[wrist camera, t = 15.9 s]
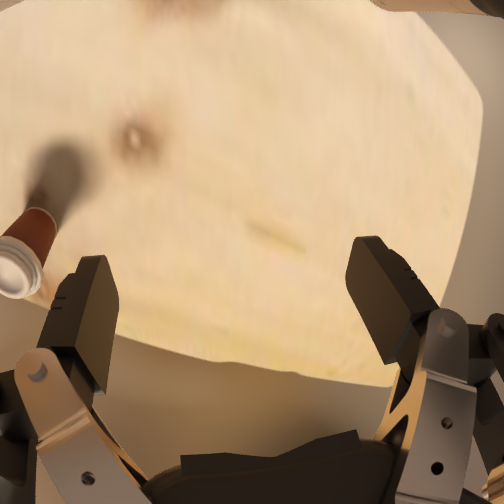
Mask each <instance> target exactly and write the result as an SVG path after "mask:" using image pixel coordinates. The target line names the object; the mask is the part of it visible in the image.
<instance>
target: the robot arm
mask: <svg viewBox="0 0 504 504" xmlns="http://www.w3.org/2000/svg"><path fill="white" fill-rule="evenodd" d="M370 1H372V2H373V3H374V4H375V5H377V6H379V7H380V8H382V9H385V10H387V11H393V12H406V11H413V12H424V11H425V12H451V13H452V12H453V13H466V14H477V15H486V16H494V17H501V18H503V19H504V0H370ZM345 280H346V287H347V290H348V292H349V294H350V296H351V298H352V300H353V302H354V304H355V306H356V308H357V310H358V311H359V313H360V315H361V317H362V319H363V321H364V323H365V325H366V327H367V329H368V331H369V334H370V336H371V338H372V340H373V342H374V344H375V346H376V348H377V350H378V352H379V354H380V356H381V358H382V360H383V363H384V365H387V364H391V363H395V362H398V364H399V366H400V368H399V369H398V371H397V373H396V377H395V381H394V384H393V388H392V392H391V395H390V398H389V402H388V405H387V409H386V412H385V415H384V418H383V420H382V422H381V424H380V426H379V428H378V430H377V431H376V433H375V435H374V437H373V440H372V439H359V436H358V433H357V431H356V429H355V430H351V431H347V432H344V433H339V434H335V435H331V436H327V437H322V438H318V439H315V440H313V441H311V442H309V443H306V444H304V445H302V446H300V447H298V448H295V449H293V450H291V451H289V452H286V453H284V454H282V455H279V456H276V457H260V456H249V455H240V454H232V453H214V454H199V455H181V456H180V457H181V465H178V466H174V467H172V468H170V469H167V470H164V471H163V472H161V473H159V474H157V475H155V476H154V477H153V478H151V479H150V480H149V479H148V478H147V477H146V476H145V475H144V473H143V472H142V471H141V470H140V469H139V468H138V467H137V465H136V464H135V463H134V462H133V461H132V460H131V459H130V458H129V456H128V455H127V454H126V453H125V451H124V450H123V449H122V447H121V446H120V445H119V443H118V442H117V441H116V440H115V438H114V437H113V435H112V434H111V432H110V431H109V429H108V428H107V427H106V425H105V424H104V422H103V421H102V419H101V418H100V416H99V415H98V413H97V412H96V410H95V409H94V407H93V406H92V403H93V396H94V395H106V388H107V380H108V373H109V365H110V359H111V352H112V346H113V339H114V334H115V328H116V322H117V317H118V312H119V296H118V292H117V288H116V285H115V282H114V279H113V276H112V273H111V269H110V266H109V263H108V260H107V258H106V256H105V255H97V256H85V257H82V258H81V260H80V262H79V264H78V267H77V269H76V272H75V273H71V274H68V275H67V277H66V278H65V279H64V280H63V281H62V282H61V283H60V285H59V287H58V289H57V292H56V294H55V297H54V298H55V299H54V300H53V302H52V304H51V307H50V308H51V310H49V312H48V315H47V318H46V321H45V324H44V326H43V330H42V332H41V335H40V338H39V341H38V344H37V348H36V349H33V350H30V351H28V352H27V353H25V354H24V355H23V356H22V357H21V358H20V359H19V361H18V362H17V365H16V367H15V369H14V370H10V371H7V372H3V373H0V504H35V487H36V484H35V483H36V462H37V452H38V454H39V456H40V459H41V461H42V463H43V465H44V466H45V468H46V470H47V472H48V474H49V476H50V478H51V479H52V481H53V483H54V485H55V486H56V488H57V490H58V492H59V493H60V495H61V497H62V498H63V500H64V501H65V503H66V504H504V406H503V403H502V401H501V399H500V397H499V395H498V393H497V391H496V389H495V387H494V385H493V383H492V381H491V379H490V377H491V376H492V375H493V374H494V373H495V371H496V370H498V372H499V374H500V376H501V378H502V380H503V382H504V315H503V314H499V313H495V314H492V315H490V317H489V318H488V319H487V321H486V323H485V324H484V325H473V324H467V323H466V322H465V320H464V319H463V318H462V317H461V316H460V315H459V314H458V313H456V312H454V311H452V310H449V309H445V308H444V309H443V308H440V307H439V306H438V305H437V303H436V302H435V300H434V299H433V297H432V296H431V295H430V293H429V292H428V290H427V289H426V288H425V286H424V285H423V283H422V282H421V281H420V279H418V278H417V275H416V274H415V273H414V271H413V270H411V267H410V266H409V265H408V263H407V262H406V261H405V259H404V258H403V257H402V256H400V255H399V254H397V253H396V252H395V251H393V250H392V249H388V247H387V246H386V245H385V244H384V242H383V241H382V240H381V238H380V237H379V236H364V237H356V238H355V239H354V242H353V245H352V250H351V254H350V258H349V262H348V266H347V270H346V276H345ZM472 436H474V438H475V441H476V443H477V446H478V448H479V451H480V454H481V456H482V459H483V462H484V465H485V468H486V471H487V473H488V476H489V477H488V482H487V483H486V484H485V485H484V486H483V488H482V495H483V497H484V498H486V499H488V501H487V500H485V499H483V498H481V497H479V496H478V495H476V494H474V493H472V492H470V491H469V490H467V489H465V488H463V484H464V480H465V475H466V470H467V465H468V460H469V455H470V448H471V442H472ZM38 438H39V441H40V442H38Z"/></svg>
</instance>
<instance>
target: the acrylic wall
mask: <svg viewBox="0 0 504 504" xmlns="http://www.w3.org/2000/svg"><path fill="white" fill-rule="evenodd" d="M22 1H24V0H0V11H2V10H4V9H6V8H8V7H11V6H13V5H15V4H17V3H19V2H22Z"/></svg>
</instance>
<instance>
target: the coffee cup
mask: <svg viewBox="0 0 504 504" xmlns="http://www.w3.org/2000/svg"><path fill="white" fill-rule="evenodd" d="M57 230H58V229H57V224H56V221H55V219H54V217H53V216H52V215H51V214H50V213H49V212H48V211H47V210H46V209H43V208H41V207H30V208H28V209H26V211H25V212H24V213H23V214H22V215H21V216H20V217H19V218H18V219H17V220H16V221H15V222H14V223H13V224H12V225H11V226H10V227H9V228H8V229H7V230H6V231H5V233H4V234H3V235H2V236H0V293H1V294H3V295H5V296H7V297H9V298H16V299H20V298H23V297H26V296H28V295H31V294H34V293H36V291H37V290H38V289H39V288H40V287H41V285H42V281H43V274H44V273H43V266H44V264H45V261H46V259H47V256H48V254H49V251H50V249H51V246H52V244H53V241H54V239H55V237H56V234H57Z"/></svg>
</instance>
